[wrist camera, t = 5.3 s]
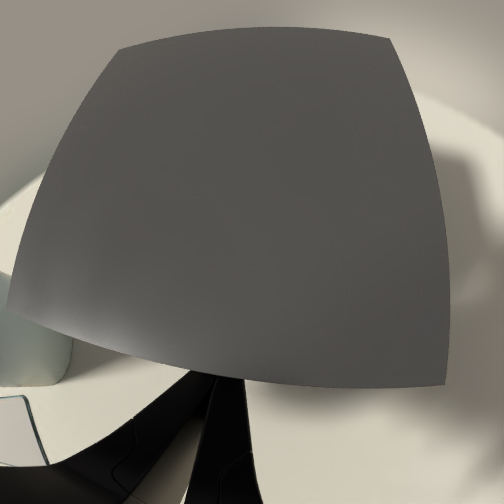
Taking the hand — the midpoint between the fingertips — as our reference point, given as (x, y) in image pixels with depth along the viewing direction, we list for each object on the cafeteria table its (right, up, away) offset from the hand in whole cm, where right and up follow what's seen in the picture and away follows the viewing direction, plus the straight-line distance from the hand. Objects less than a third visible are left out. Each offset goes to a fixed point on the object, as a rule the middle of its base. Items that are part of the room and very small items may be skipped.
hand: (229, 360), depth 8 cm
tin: (+1, +2, +8) cm, 8 cm away
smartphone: (-23, -14, +6) cm, 28 cm away
